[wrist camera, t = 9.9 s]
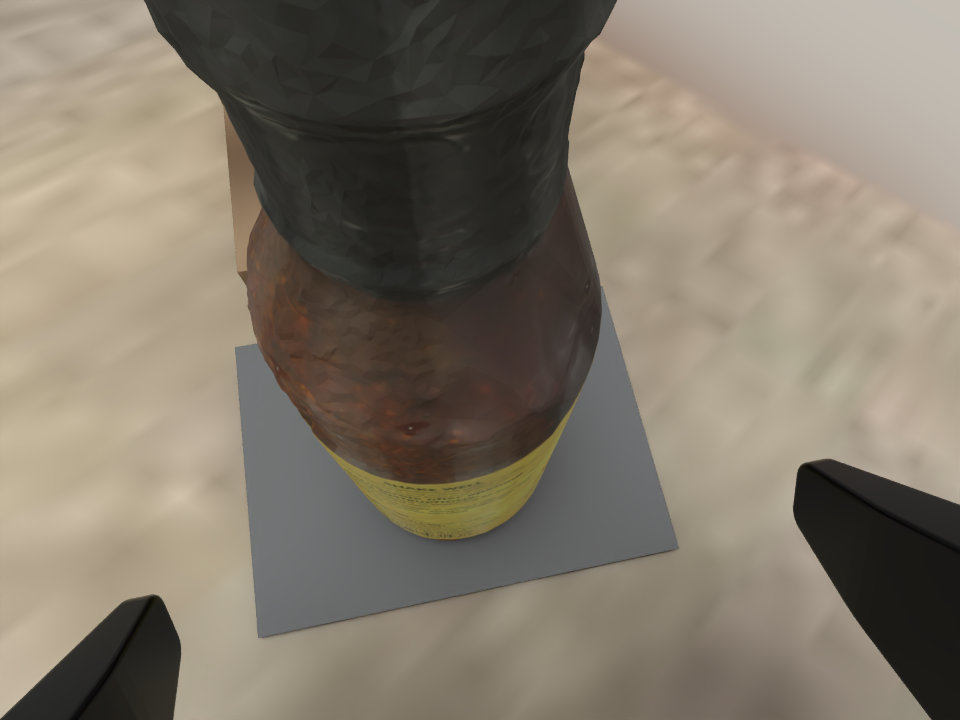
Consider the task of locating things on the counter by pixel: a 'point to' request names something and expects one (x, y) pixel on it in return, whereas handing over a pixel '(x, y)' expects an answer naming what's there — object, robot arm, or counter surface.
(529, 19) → the sauce bottle
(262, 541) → the charcoal mat
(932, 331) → the counter surface
